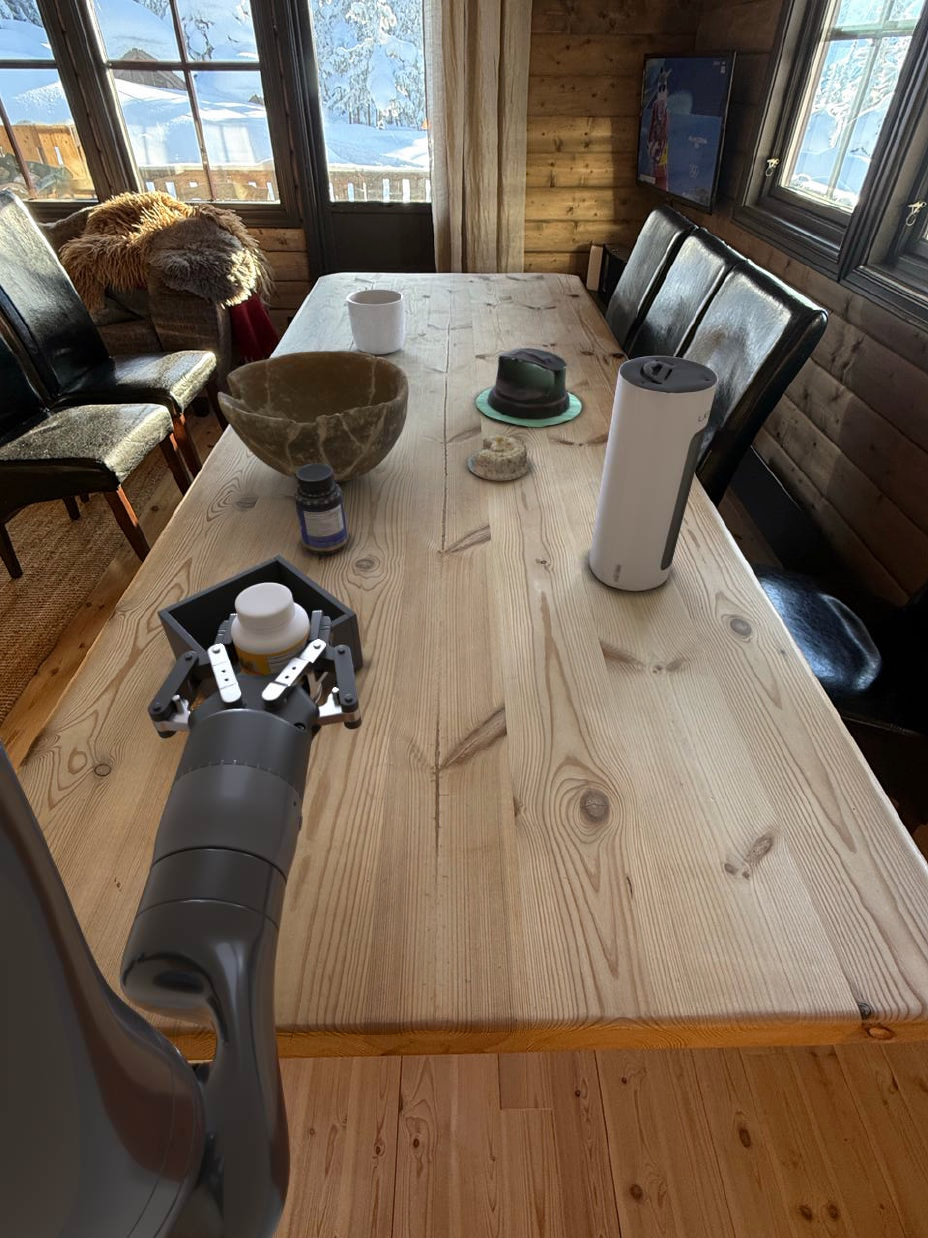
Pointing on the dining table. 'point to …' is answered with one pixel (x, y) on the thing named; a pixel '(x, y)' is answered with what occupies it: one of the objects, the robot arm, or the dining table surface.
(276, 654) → the supplement bottle
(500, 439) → the cake
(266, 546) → the dining table surface
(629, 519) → the speaker
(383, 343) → the planter
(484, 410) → the fedora hat
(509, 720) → the dining table surface
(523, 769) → the dining table surface
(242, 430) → the bowl
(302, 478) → the pill bottle
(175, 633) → the open storage box
